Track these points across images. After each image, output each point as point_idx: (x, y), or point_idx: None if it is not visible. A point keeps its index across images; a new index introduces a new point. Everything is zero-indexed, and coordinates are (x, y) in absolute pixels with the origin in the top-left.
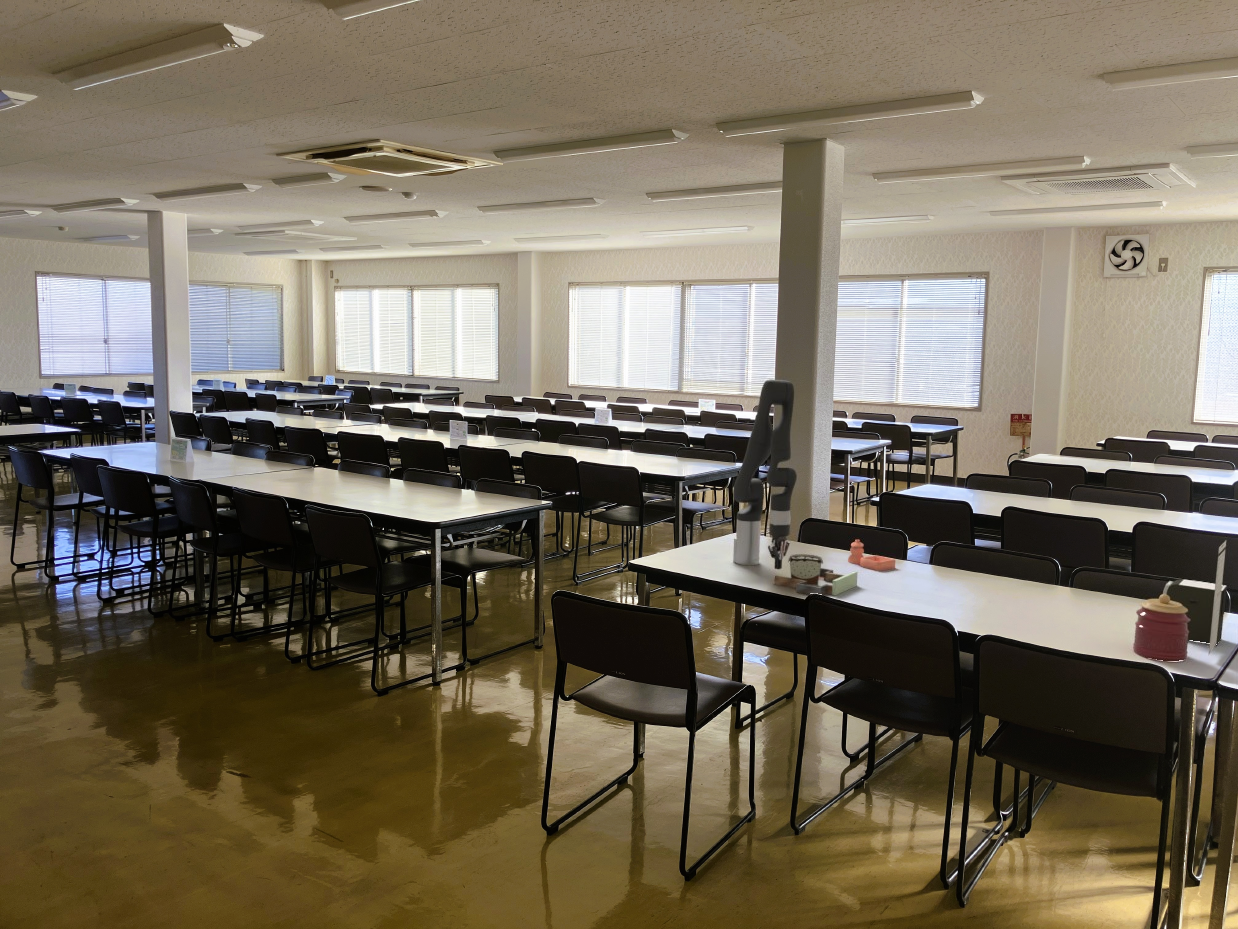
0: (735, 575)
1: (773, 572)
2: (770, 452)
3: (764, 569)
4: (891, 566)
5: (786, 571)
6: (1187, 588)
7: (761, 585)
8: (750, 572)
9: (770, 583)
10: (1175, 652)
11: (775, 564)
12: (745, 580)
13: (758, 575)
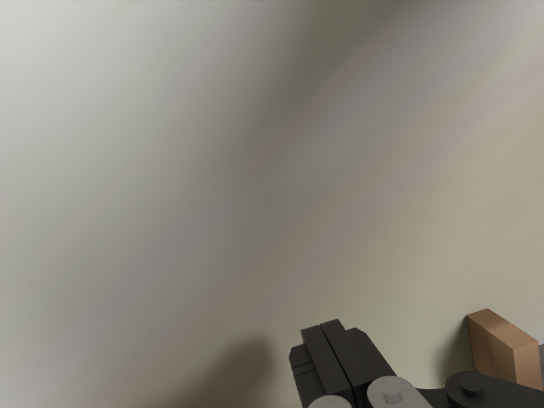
0: (57, 22)
1: (433, 143)
2: None
3: (462, 18)
4: None
5: (533, 176)
6: None
7: (19, 403)
8: (275, 23)
9: (133, 388)
10: None
11: (295, 379)
12: (9, 219)
13: (250, 149)
